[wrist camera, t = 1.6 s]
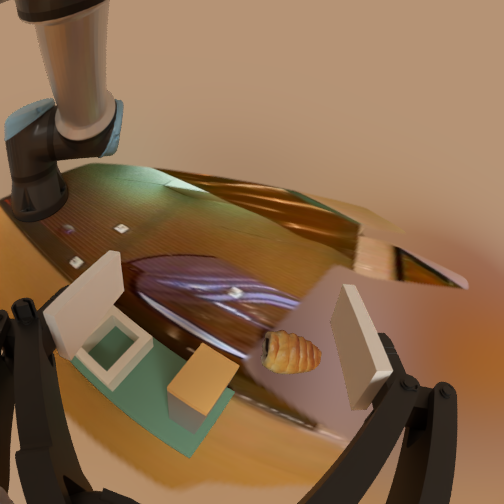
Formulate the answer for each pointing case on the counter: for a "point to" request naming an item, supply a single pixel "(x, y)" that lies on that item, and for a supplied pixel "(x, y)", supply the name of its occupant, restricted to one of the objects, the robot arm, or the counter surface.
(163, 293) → the counter surface
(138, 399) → the board
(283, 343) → the pastry
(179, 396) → the plug
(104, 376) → the header
